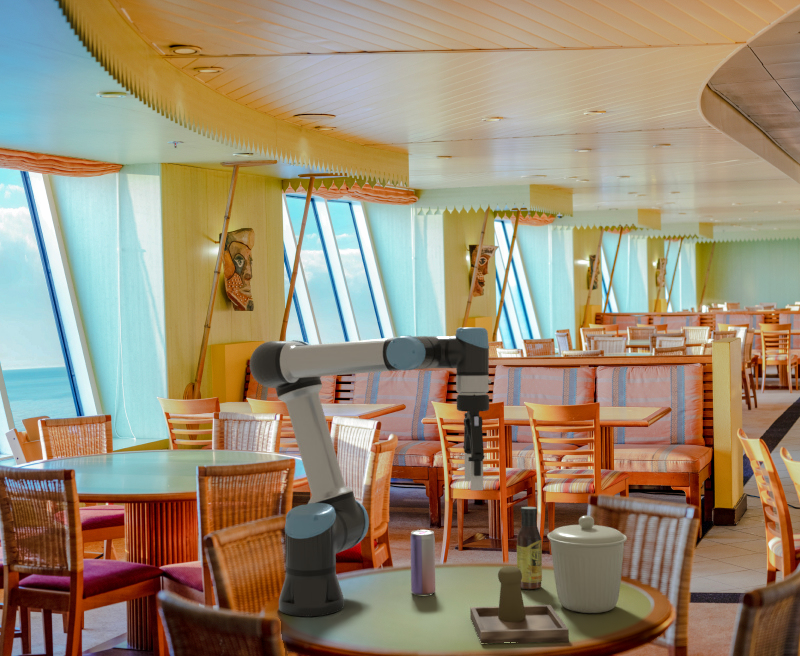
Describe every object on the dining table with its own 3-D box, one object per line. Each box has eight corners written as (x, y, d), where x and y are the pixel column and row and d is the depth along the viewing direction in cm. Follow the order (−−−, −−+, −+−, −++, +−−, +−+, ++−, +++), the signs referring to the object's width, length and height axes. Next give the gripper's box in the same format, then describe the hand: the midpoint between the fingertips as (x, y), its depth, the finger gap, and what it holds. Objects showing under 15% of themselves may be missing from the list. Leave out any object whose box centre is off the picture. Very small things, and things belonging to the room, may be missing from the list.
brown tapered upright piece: (525, 622, 197) (522, 573, 196) (497, 622, 198) (494, 573, 197) (526, 610, 203) (524, 563, 202) (499, 610, 204) (496, 562, 203)
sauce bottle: (536, 591, 226) (534, 510, 226) (512, 588, 229) (511, 508, 230) (546, 585, 231) (545, 506, 232) (523, 582, 235) (522, 504, 235)
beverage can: (410, 596, 224) (409, 534, 224) (412, 589, 230) (411, 529, 230) (434, 596, 223) (433, 534, 223) (436, 590, 229) (435, 529, 229)
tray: (481, 644, 187) (480, 632, 187) (470, 618, 205) (470, 607, 205) (568, 641, 187) (568, 629, 187) (550, 616, 205) (550, 604, 205)
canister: (642, 615, 205) (640, 520, 205) (566, 621, 201) (564, 525, 202) (607, 594, 223) (606, 507, 223) (537, 599, 219) (535, 511, 219)
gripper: (496, 396, 201) (497, 493, 200) (482, 390, 226) (483, 477, 225) (462, 397, 200) (462, 494, 200) (452, 391, 225) (452, 477, 225)
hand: (473, 485), depth 213 cm, fingers open, 13 cm apart
